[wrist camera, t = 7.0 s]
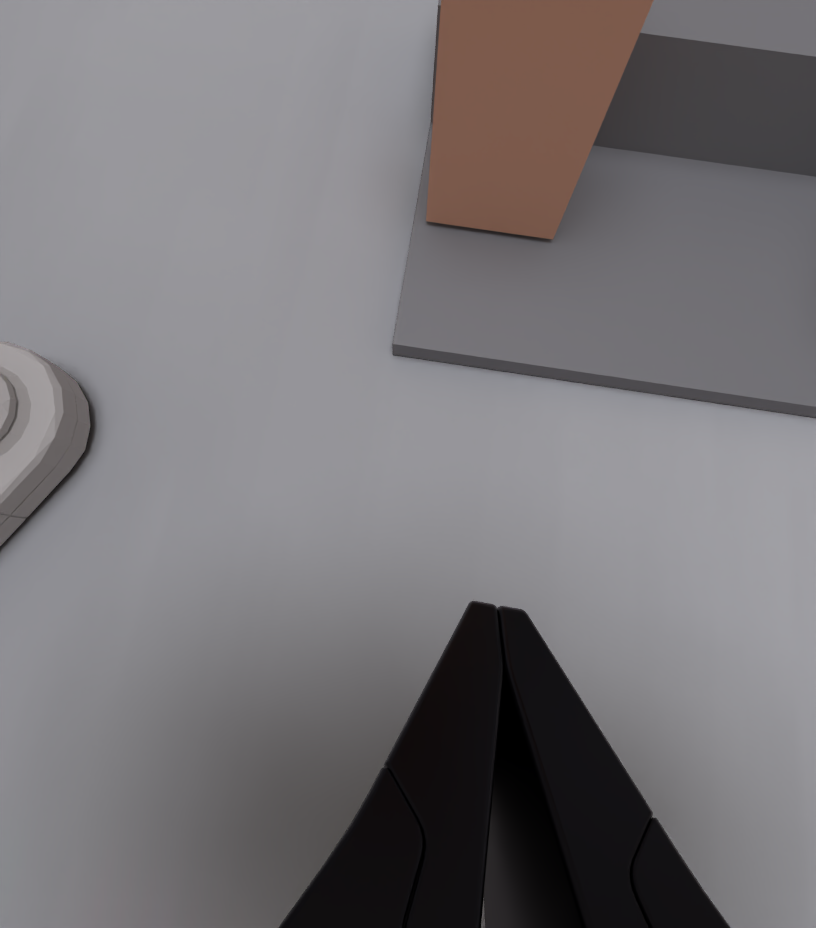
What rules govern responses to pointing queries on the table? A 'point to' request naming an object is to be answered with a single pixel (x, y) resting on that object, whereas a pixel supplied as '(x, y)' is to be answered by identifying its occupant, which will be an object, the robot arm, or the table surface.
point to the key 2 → (522, 106)
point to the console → (656, 229)
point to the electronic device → (35, 431)
